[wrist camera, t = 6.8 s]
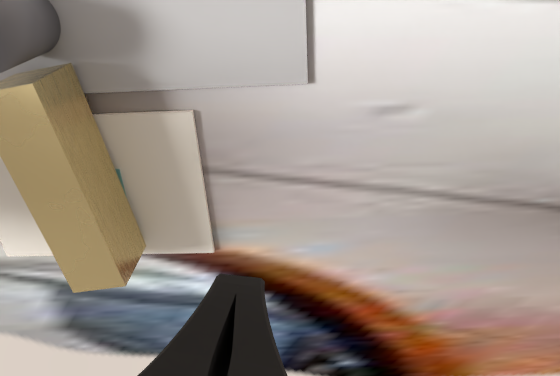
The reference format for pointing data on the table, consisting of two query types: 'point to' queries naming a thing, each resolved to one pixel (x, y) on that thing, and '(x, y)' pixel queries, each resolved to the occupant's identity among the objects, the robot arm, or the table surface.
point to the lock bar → (68, 178)
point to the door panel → (149, 77)
